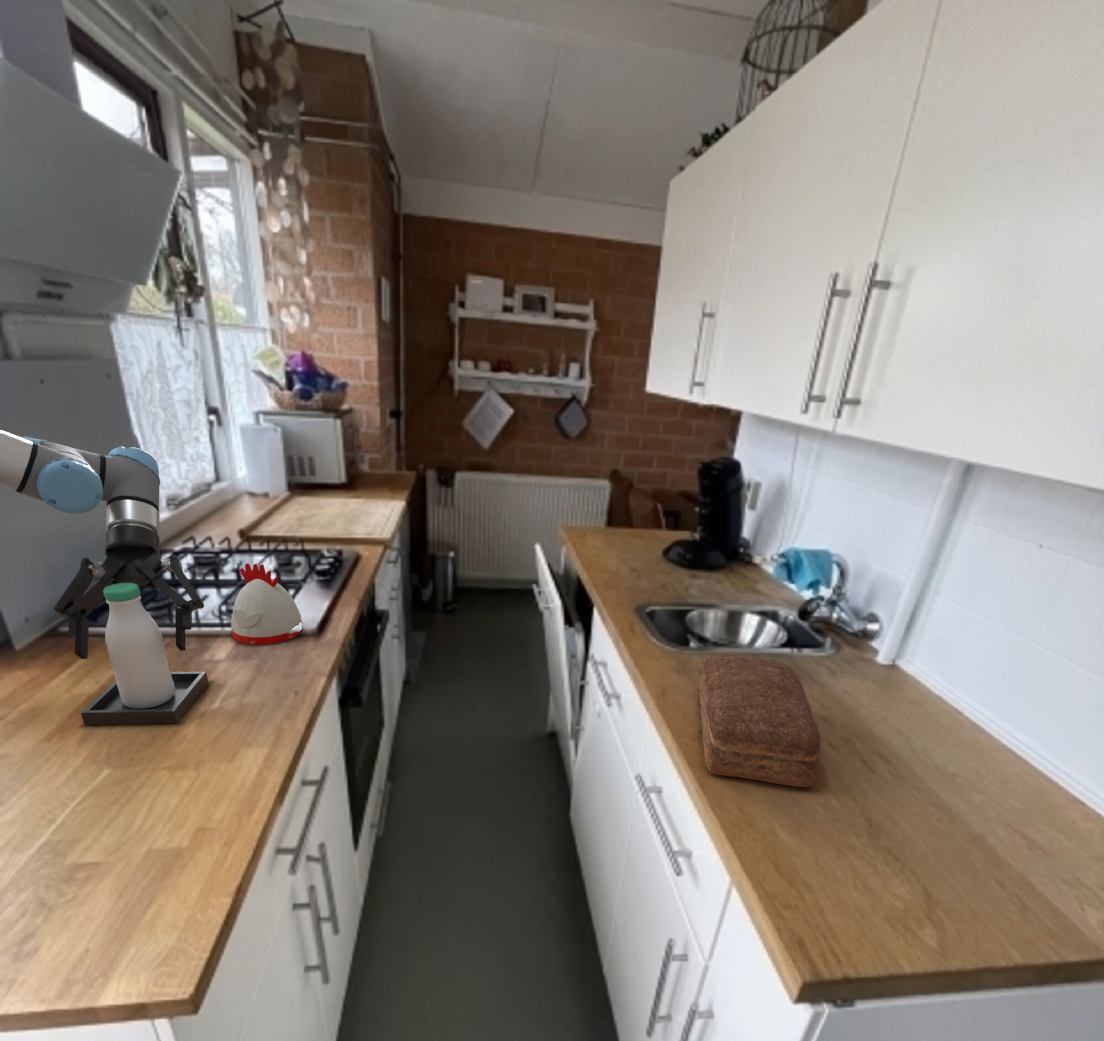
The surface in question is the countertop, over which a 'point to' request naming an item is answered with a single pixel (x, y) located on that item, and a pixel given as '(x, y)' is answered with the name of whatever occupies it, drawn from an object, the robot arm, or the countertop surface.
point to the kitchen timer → (263, 610)
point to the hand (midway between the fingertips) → (132, 652)
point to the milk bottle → (136, 650)
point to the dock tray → (115, 712)
